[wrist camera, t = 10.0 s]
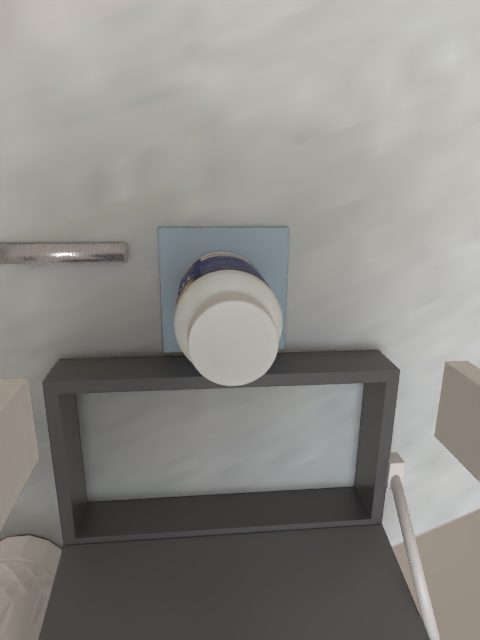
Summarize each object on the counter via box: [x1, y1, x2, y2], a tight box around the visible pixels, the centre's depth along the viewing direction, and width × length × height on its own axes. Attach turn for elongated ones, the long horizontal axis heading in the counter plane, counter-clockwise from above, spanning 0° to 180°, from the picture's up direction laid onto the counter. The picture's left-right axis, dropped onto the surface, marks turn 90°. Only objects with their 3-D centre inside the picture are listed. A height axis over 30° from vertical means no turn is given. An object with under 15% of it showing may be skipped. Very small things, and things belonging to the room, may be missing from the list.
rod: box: [0, 243, 127, 264], centre depth 27 cm, size 8×1×1 cm, turn 90°
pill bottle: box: [174, 251, 282, 386], centre depth 24 cm, size 5×5×10 cm
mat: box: [158, 227, 289, 353], centre depth 29 cm, size 8×8×1 cm
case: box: [38, 350, 440, 640], centre depth 26 cm, size 22×15×14 cm, turn 90°
